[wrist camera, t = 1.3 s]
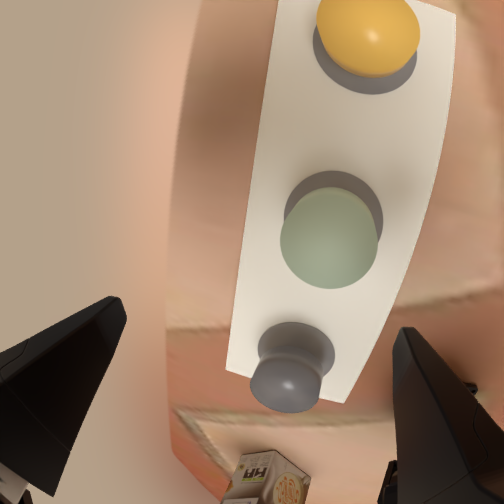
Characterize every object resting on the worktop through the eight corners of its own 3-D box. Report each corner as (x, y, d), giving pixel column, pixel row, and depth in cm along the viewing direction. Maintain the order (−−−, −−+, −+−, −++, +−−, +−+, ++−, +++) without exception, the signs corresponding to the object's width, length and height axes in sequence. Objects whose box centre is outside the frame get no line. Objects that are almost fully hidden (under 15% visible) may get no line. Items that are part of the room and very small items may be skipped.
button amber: (412, 14, 10) (421, -4, 7) (405, 89, 11) (415, 82, 9) (326, -5, 11) (321, -25, 8) (316, 69, 12) (310, 57, 10)
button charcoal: (332, 352, 18) (328, 378, 16) (314, 394, 20) (308, 419, 18) (266, 334, 19) (255, 357, 17) (256, 378, 21) (245, 401, 19)
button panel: (442, 28, 12) (456, 13, 9) (346, 378, 24) (343, 405, 21) (292, -4, 14) (281, -24, 11) (238, 347, 26) (224, 371, 23)
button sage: (383, 198, 14) (389, 210, 12) (360, 276, 16) (361, 298, 14) (298, 176, 15) (289, 184, 13) (283, 255, 17) (272, 275, 15)
